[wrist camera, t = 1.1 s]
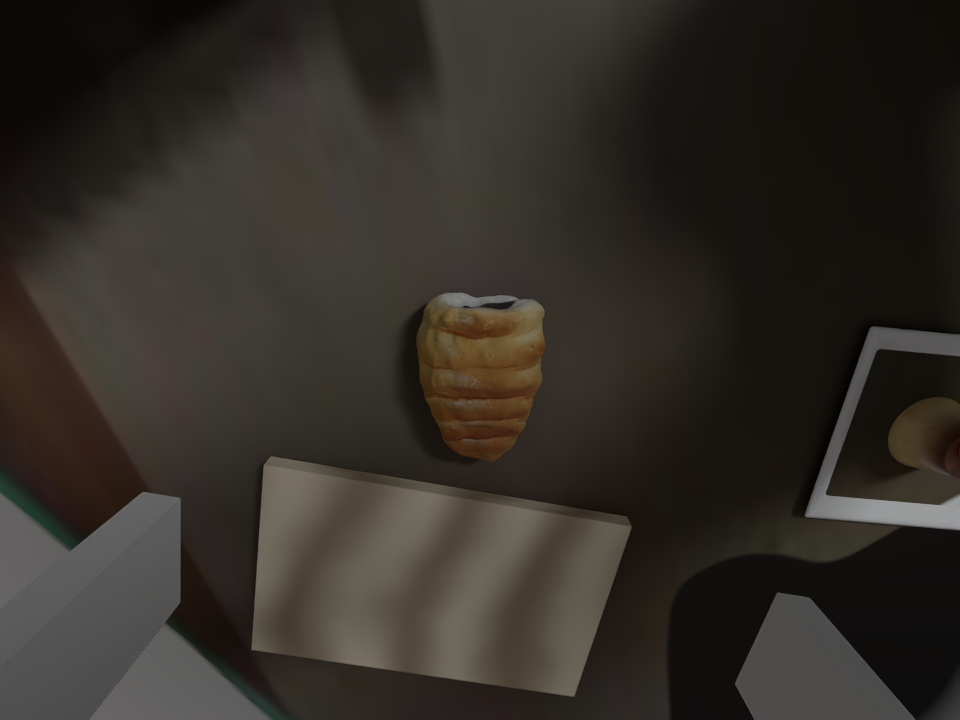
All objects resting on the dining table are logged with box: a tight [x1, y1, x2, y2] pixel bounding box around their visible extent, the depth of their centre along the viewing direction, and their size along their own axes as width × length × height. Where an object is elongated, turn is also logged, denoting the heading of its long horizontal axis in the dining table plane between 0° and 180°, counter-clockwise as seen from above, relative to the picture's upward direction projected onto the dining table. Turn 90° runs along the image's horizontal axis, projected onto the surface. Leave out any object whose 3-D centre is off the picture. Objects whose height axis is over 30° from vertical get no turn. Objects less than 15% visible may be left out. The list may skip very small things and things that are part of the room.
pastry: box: [416, 293, 545, 461], centre depth 25 cm, size 9×7×4 cm
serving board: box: [251, 456, 632, 697], centre depth 30 cm, size 22×14×1 cm, turn 79°
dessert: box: [805, 326, 960, 530], centre depth 26 cm, size 12×12×5 cm
